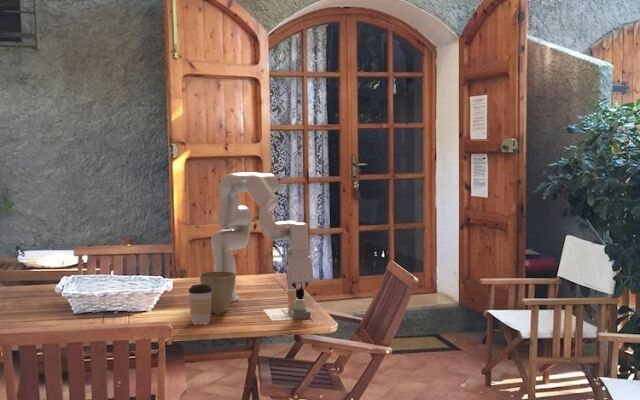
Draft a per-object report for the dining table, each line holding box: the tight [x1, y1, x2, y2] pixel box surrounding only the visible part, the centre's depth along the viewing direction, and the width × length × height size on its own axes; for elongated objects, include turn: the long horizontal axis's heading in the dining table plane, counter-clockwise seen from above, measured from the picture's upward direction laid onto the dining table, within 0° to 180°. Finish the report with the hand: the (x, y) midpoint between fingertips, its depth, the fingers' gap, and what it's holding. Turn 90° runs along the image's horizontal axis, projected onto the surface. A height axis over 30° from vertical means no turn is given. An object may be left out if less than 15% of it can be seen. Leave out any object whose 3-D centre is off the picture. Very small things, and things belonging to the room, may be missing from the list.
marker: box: [287, 285, 297, 312], centre depth 307 cm, size 3×3×11 cm
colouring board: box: [263, 307, 313, 322], centre depth 304 cm, size 16×20×1 cm
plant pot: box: [199, 271, 237, 315], centre depth 310 cm, size 15×15×16 cm
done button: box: [294, 298, 306, 312], centre depth 299 cm, size 4×4×5 cm
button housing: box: [289, 307, 312, 320], centre depth 299 cm, size 7×7×2 cm
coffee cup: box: [188, 283, 212, 325], centre depth 293 cm, size 9×9×15 cm
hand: (300, 298), depth 298 cm, fingers closed
